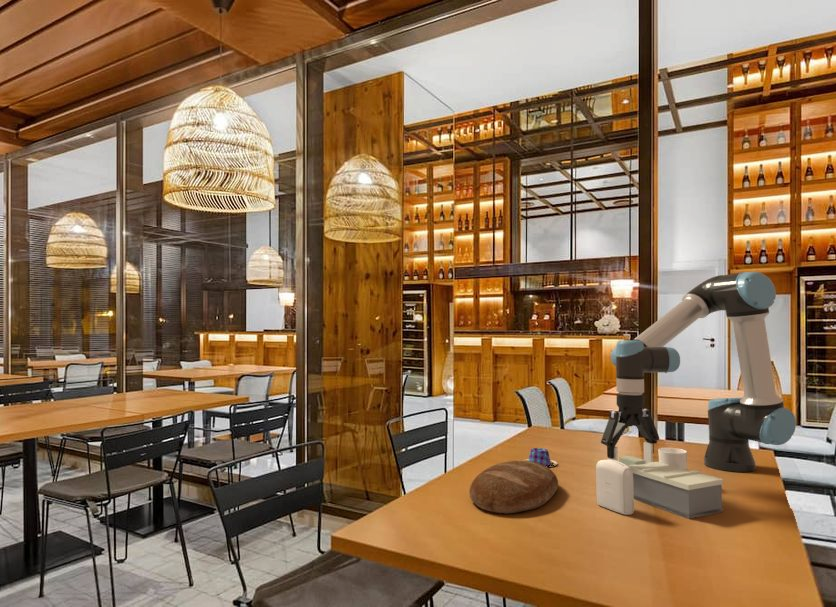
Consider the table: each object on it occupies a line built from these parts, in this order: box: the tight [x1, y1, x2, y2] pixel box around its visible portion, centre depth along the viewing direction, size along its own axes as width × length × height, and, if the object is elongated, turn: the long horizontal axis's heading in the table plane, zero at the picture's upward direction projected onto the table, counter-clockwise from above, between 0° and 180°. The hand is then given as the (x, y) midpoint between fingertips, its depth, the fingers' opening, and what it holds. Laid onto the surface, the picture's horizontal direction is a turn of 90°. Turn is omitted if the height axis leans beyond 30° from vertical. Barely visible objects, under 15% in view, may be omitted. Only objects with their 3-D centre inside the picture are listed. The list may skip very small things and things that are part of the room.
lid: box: [618, 455, 724, 490], centre depth 145 cm, size 13×27×3 cm, turn 24°
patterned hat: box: [522, 447, 558, 468], centre depth 186 cm, size 12×12×5 cm
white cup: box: [657, 447, 688, 470], centre depth 161 cm, size 8×8×10 cm
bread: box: [468, 460, 559, 515], centre depth 151 cm, size 22×37×8 cm, turn 152°
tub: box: [633, 473, 723, 520], centre depth 142 cm, size 12×20×7 cm, turn 24°
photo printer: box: [595, 458, 635, 516], centre depth 138 cm, size 10×4×12 cm, turn 26°
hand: (631, 467), depth 155 cm, fingers open, 13 cm apart
